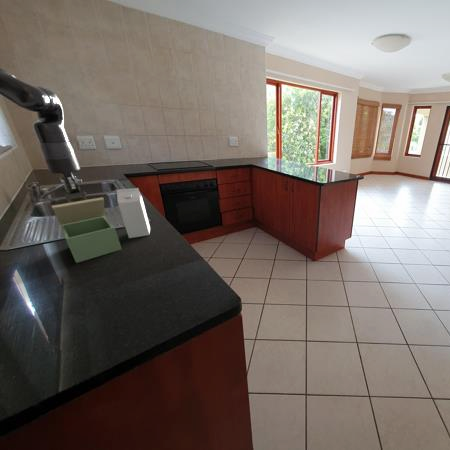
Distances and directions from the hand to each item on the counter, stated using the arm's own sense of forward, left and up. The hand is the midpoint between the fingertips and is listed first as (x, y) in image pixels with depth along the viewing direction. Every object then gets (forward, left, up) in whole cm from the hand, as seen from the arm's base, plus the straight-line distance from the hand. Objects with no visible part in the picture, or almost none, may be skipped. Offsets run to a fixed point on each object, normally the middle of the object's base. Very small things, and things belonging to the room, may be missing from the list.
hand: (79, 207), depth 83 cm
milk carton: (+9, +12, -15) cm, 21 cm away
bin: (+3, -2, -15) cm, 15 cm away
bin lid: (+2, -2, -1) cm, 3 cm away
